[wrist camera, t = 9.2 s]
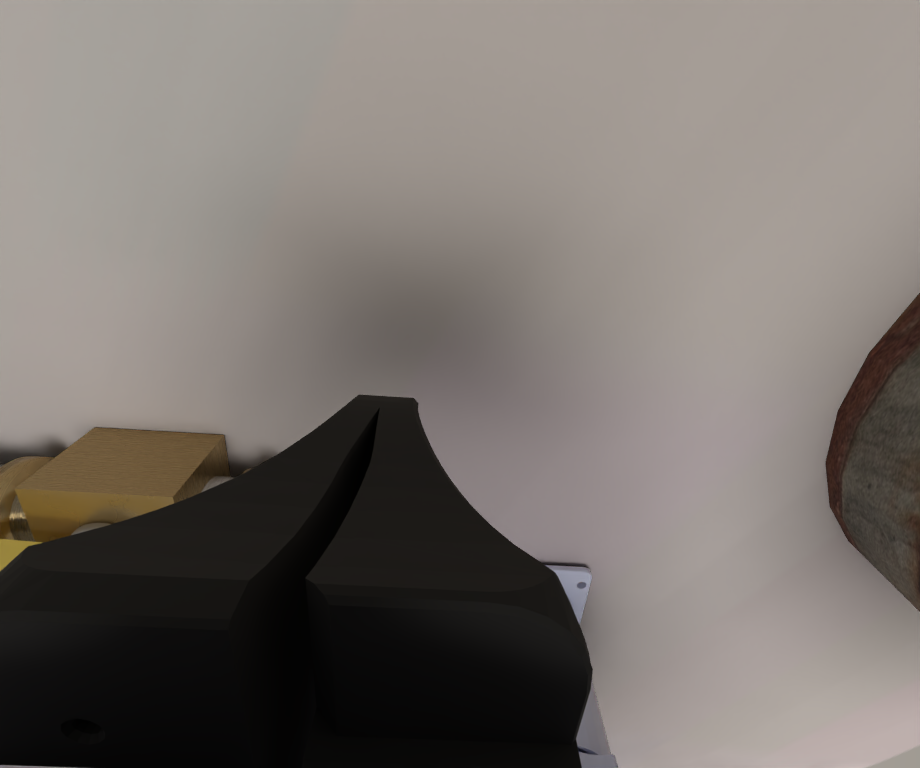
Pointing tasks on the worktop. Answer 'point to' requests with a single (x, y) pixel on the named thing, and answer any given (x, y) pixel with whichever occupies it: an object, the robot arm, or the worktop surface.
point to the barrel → (882, 457)
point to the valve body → (106, 480)
